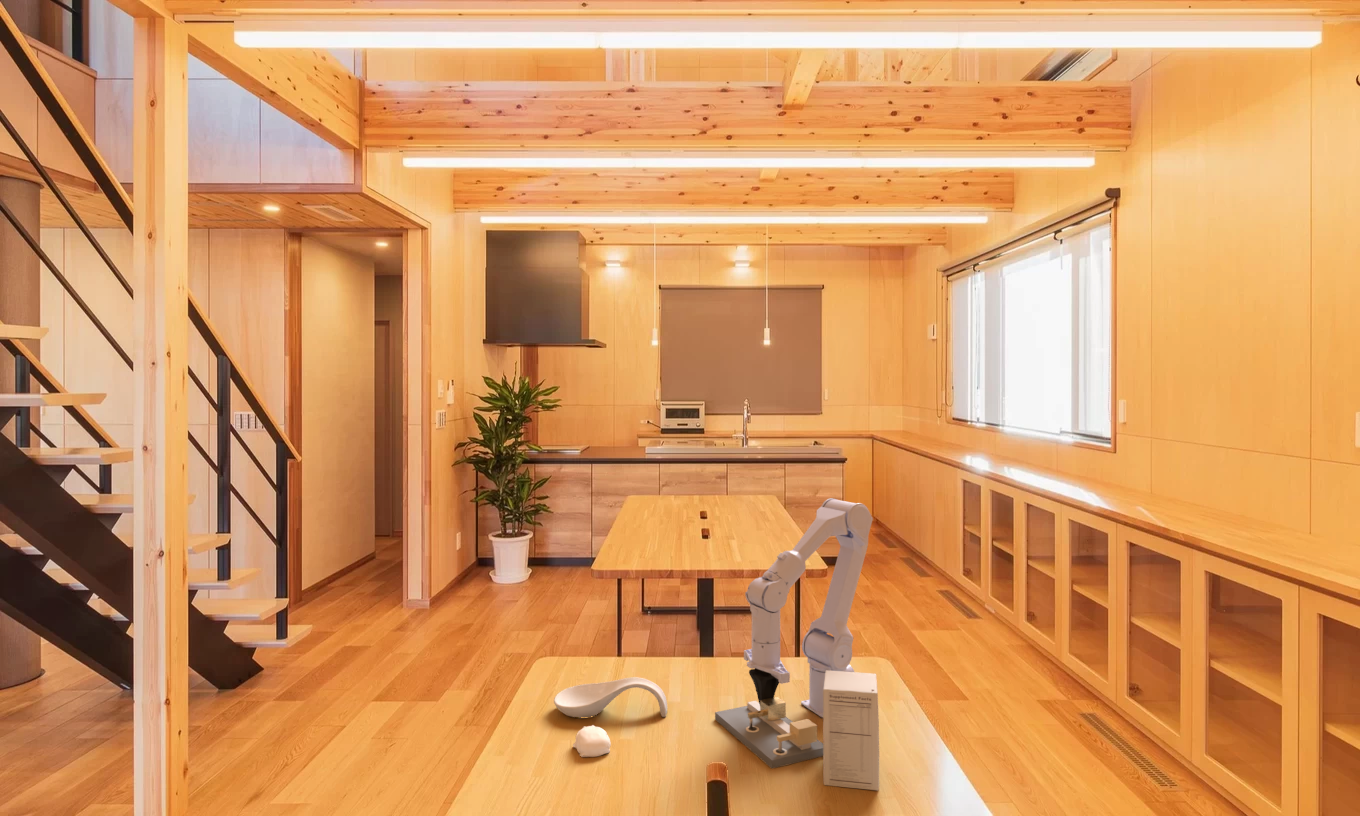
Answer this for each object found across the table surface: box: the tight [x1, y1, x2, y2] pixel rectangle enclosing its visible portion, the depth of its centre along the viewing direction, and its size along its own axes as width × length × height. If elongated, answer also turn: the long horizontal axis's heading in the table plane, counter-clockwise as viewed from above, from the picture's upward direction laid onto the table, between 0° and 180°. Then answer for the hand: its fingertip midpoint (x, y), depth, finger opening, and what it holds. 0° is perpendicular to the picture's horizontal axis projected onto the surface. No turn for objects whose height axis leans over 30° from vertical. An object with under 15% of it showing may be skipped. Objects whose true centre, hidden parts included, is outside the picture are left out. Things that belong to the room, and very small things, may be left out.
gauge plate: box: [714, 700, 823, 769], centre depth 148 cm, size 12×22×6 cm, turn 25°
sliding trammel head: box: [748, 696, 787, 728], centre depth 149 cm, size 8×3×4 cm, turn 115°
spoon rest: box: [553, 676, 668, 719], centre depth 159 cm, size 24×12×7 cm, turn 89°
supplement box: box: [822, 670, 880, 791], centre depth 133 cm, size 10×9×17 cm
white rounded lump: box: [572, 724, 612, 758], centre depth 143 cm, size 8×7×4 cm
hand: (765, 706), depth 152 cm, fingers closed
